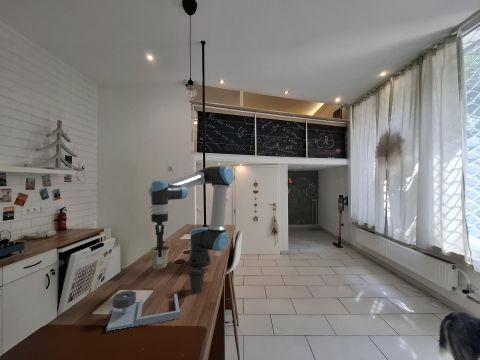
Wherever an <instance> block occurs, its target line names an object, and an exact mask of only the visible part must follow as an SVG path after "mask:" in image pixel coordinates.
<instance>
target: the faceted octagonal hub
mask: <svg viewBox="0 0 480 360" xmlns="http://www.w3.org/2000/svg"><path fill="white" fill-rule="evenodd" d="M123 296H127V297H123ZM112 298H113V299H112V307H113V309H114V308H117V309H122V308H128V307H130V306H131V305H133V304H135V302H137V301H136V300H137V299H136V298H137V292H136V291H134V290H125V291H120V292H118V293H115V294H114V295H113V297H112Z"/></svg>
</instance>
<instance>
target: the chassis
mask: <svg viewBox="0 0 480 360" xmlns="http://www.w3.org/2000/svg"><path fill="white" fill-rule="evenodd" d="M123 297H127V296H123ZM178 298H179V297H178V293H174V294H173V302H174V310H173V311H167V312H161V313H156V314H151V315H150V314H149V315H145V316H142V312H143V305H144V304H143V303H144V302H143V300H144V299H143V298H140V299H139V301H135V304H133V305H131V306H130V307H128V308H122V309H117V308H114V307H113V310H112V312H111V315H110V319H109V321H108V324H107V326H106V332H107V331H110V330H115V329H122V328H127V327H134V326H137V327H139V326H138V325H143V326H147V325H146V324H148V325H151V324H156V323H162V322H167V321H173V319H174V320H178V319H181V317H180V315H181V309H180V305H179V299H178Z"/></svg>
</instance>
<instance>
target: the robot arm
mask: <svg viewBox="0 0 480 360" xmlns="http://www.w3.org/2000/svg"><path fill="white" fill-rule="evenodd" d="M234 177H235V176H234V172H233V170H232V168H231V167H229V166H228V165H220V166H219V165H218V166H209V167H204V168H202V169H200V170H196V171H195V172H193V173H191V174H189V175H185V176H183V177H180V178H176V179H173V180H171V181H170V180H169V181H167V180H154V181H152V182H151V186H150V187H149V190H148V193H149V195H150V199H151V200H150V202H151V206H150V207H149V209H151V214H150V216H151V219H150V220H151V222H152V223H156V225H155V236H156V247H157V249H155V250H157V264H163V246H164V245H163V244H164V243H165V241H164V237H163V236H164V233H165V232H164V230H165V224H163V223H165V222H168V220H169V213H168V212H169V201H170V200H172V201H173V200H183V199H185V198H187V196H188V193H189V192H188V191H189V190H188V189H190V188H192V187H195V186H197V185H198V186H202V185H207V184H208V185H210V184H211V187H212V188H213V191H212V193H213V194H212V205H211V214H210V215H211V216H210V225H209V226H208V227H207V226H206V227H205V226H204V227H197V228H193V229H191V230H190V253H189V256H188V259H187V265H188V266H190V267H194V268H200V267H206V266H209V265H211V263H212V259H211V255H210V252H209V250H211V251H214V252H222V251H223V252H224V250H225V249H226V248H227V247H228V244H229V242H230V236H229V234H228V233H227V229H226V227H225V216H226V204H227V203H226V202H227V191H228V189H229V188H230V185H231V184H233V182H234ZM159 246H161V247H159Z"/></svg>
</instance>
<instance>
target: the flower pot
mask: <svg viewBox="0 0 480 360" xmlns="http://www.w3.org/2000/svg"><path fill="white" fill-rule="evenodd" d="M159 247H161V246H159ZM155 249H157V246H154V247H150V248H149V250H148V252H149V253H150V257H151V263H152V264H151V265H152V268H153V269H154V270H155V269H157V270H161V269H165V268H166V267H167V265H168V260H169V252H170V249H171V247H170V246H168V245H163V264H157V250H155Z"/></svg>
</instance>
